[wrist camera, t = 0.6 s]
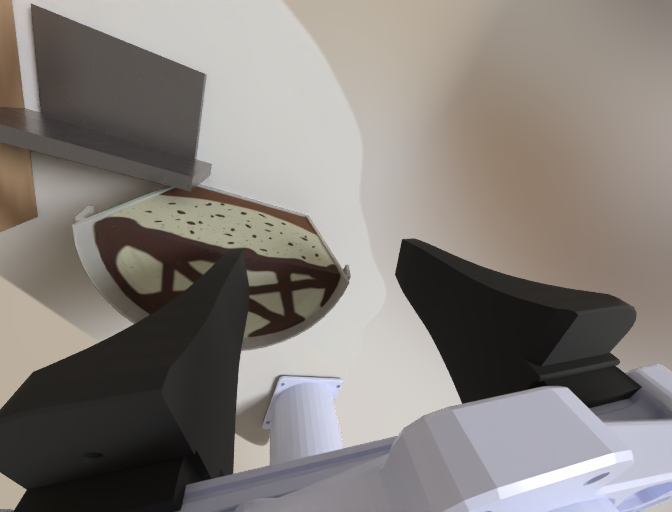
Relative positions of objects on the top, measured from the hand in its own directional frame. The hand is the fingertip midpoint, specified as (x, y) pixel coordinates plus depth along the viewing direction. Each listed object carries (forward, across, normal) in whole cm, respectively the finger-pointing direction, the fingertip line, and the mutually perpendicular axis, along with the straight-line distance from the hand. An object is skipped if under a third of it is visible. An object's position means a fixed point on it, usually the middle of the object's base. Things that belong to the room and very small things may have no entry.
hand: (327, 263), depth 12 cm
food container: (+11, +5, +3) cm, 12 cm away
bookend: (+11, +10, -6) cm, 16 cm away
